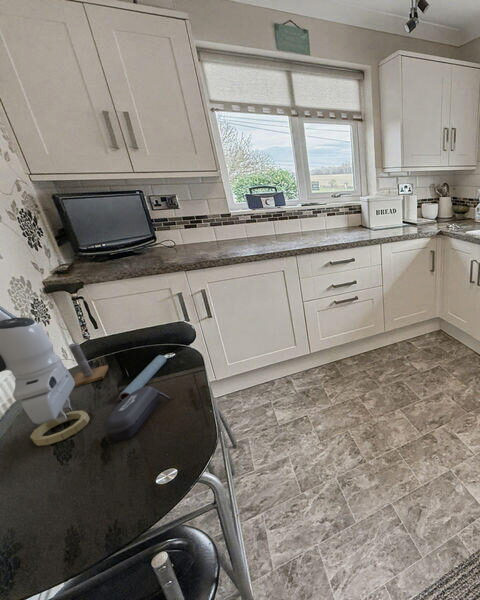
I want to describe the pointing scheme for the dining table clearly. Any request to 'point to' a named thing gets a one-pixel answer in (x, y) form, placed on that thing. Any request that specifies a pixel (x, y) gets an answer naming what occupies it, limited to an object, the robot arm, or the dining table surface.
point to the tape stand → (85, 367)
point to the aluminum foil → (143, 376)
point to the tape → (46, 440)
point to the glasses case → (132, 413)
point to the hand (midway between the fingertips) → (66, 416)
